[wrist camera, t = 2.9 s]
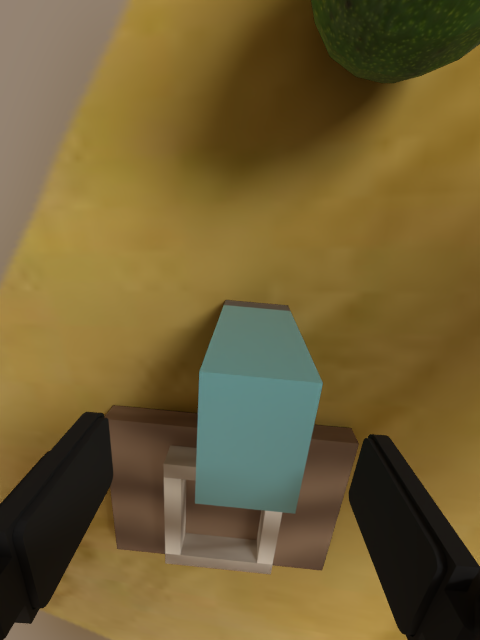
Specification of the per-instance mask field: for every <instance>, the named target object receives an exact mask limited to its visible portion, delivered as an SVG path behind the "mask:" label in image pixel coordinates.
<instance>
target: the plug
mask: <svg viewBox="0 0 480 640" xmlns="http://www.w3.org/2000/svg"><path fill="white" fill-rule="evenodd" d="M322 385H323V382H322V380H321V378H320V376H319V373H318V371H317V369H316V367H315V365H314V362H313V360H312V358H311V356H310V353H309V351H308V349H307V347H306V345H305V342H304V340H303V338H302V336H301V333H300V331H299V329H298V327H297V325H296V322H295V320H294V318H293V316H292V313H291V311H290V309H289V307H288V305H277V304H266V303H254V302H243V301H232V300H226V301H225V303H224V306H223V309H222V311H221V314H220V317H219V320H218V322H217V325H216V328H215V330H214V333H213V336H212V339H211V341H210V344H209V347H208V350H207V352H206V355H205V358H204V360H203V363H202V366H201V369H200V371H199V397H198V426H197V456H196V486H195V504H205V505H215V506H225V507H235V508H244V509H254V510H264V511H274V512H284V513H294V514H295V512H296V507H297V503H298V498H299V493H300V489H301V484H302V479H303V474H304V470H305V465H306V460H307V456H308V451H309V446H310V442H311V437H312V432H313V427H314V423H315V418H316V413H317V409H318V404H319V399H320V395H321V390H322Z"/></svg>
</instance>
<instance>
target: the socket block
mask: <svg viewBox="0 0 480 640" xmlns="http://www.w3.org/2000/svg"><path fill="white" fill-rule="evenodd" d="M104 417H105V418H108V421H109V431H110V441H111V452H112V463H113V480H112V483H111V485H110V489H111V498H112V507H113V516H114V525H115V534H116V543H117V549H123V550H132V551H142V552H152V553H161V554H165V563H168V564H177V565H187V566H196V567H206V568H215V569H225V570H234V571H244V572H253V573H263V574H271V570H272V565H275V566H285V567H295V568H304V569H314V570H322V569H323V566H324V562H325V559H326V555H327V552H328V548H329V545H330V542H331V538H332V535H333V531H334V528H335V524H336V521H337V517H338V514H339V511H340V507H341V504H342V500H343V497H344V493H345V490H346V486H347V483H348V480H349V476H350V473H351V469H352V466H353V462H354V459H355V456H356V452H357V449H358V445H359V443H358V441H357V439H356V437H355V435H354V433H353V431H352V429H351V428H343V427H333V426H322V425H314V427H313V432H312V437H311V442H310V446H309V451H308V456H307V460H306V465H305V470H304V474H303V479H302V484H301V489H300V493H299V498H298V503H297V507H296V512H295V514H294V513H284V512H274V511H264V510H254V509H244V508H235V507H225V506H215V505H205V504H195V486H196V456H197V426H198V413H188V412H177V411H167V410H156V409H146V408H136V407H125V406H115V405H113V406H112V407H111V409H110V410H109V411H108V413H107V414H106V415H105V416H104Z"/></svg>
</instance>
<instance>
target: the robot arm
mask: <svg viewBox="0 0 480 640" xmlns="http://www.w3.org/2000/svg"><path fill="white" fill-rule="evenodd" d="M112 480H113V463H112V452H111V441H110V431H109V421H108V418H105V417H104V414H103V413H95V412H85V413H84V414H82V416H81V417H80V418H79V419H78V420H77V421H76V422H75V424H74V425H73V426H72V427H71V428H70V429H69V430H68V431H67V433H66V434H65V435H64V436H63V437H62V438H61V439H60V440H59V442H58V443H57V444H56V445H55V446H54V447H53V448H52V450H51V451H49V452H47V453H46V454H45V455H44V456H43V457H42V458H41V459H40V460H39V461H38V462H37V464H36V465H35V466H34V467H33V468H32V469H31V470H30V471H29V473H28V474H27V475H26V476H25V477H24V478H23V479H22V480H21V481H20V483H19V484H18V485H17V486H16V487H15V488H14V489H13V490H12V492H11V493H10V494H9V495H8V496H7V497H6V498H5V499H4V500H3V502H2V503H1V504H0V640H3V639H4V638H6V636H7V634H8V633H9V631H10V629H11V627H12V626H13V624H14V622H16V623H29V624H31V623H32V621H33V620H34V618H35V616H36V614H37V612H38V610H39V609H40V608H44V607H45V606H46V605H47V604H48V602H49V601H50V599H51V597H52V595H53V593H54V592H55V590H56V588H57V586H58V584H59V582H60V580H61V578H62V576H63V574H64V573H65V571H66V569H67V567H68V565H69V563H70V561H71V559H72V557H73V556H74V554H75V552H76V550H77V548H78V546H79V544H80V542H81V540H82V538H83V537H84V535H85V533H86V531H87V529H88V527H89V525H90V523H91V521H92V520H93V518H94V516H95V514H96V512H97V510H98V508H99V506H100V504H101V502H102V501H103V499H104V497H105V495H106V493H107V491H108V489H109V487H110V485H111V483H112ZM349 501H350V505H351V507H352V510H353V512H354V515H355V518H356V520H357V523H358V525H359V528H360V531H361V533H362V536H363V538H364V541H365V544H366V546H367V549H368V551H369V554H370V557H371V559H372V562H373V564H374V567H375V569H376V572H377V575H378V577H379V580H380V582H381V585H382V588H383V590H384V593H385V595H386V598H387V601H388V603H389V606H390V608H391V611H392V614H393V616H394V619H395V621H396V624H397V626H398V628H399V630H400V632H401V633H402V634H406V637H407V639H408V640H480V566H479V565H478V563H477V562H476V560H475V559H474V558H473V556H472V555H471V553H470V552H469V550H468V549H467V548H466V546H465V545H464V543H463V542H462V540H461V539H460V538H459V536H458V535H457V533H456V532H455V530H454V529H453V528H452V526H451V525H450V523H449V522H448V520H447V519H446V518H445V516H444V515H443V513H442V512H441V510H440V509H439V508H438V506H437V505H436V503H435V502H434V500H433V499H432V498H431V496H430V495H429V493H428V492H427V490H426V489H425V488H424V486H423V485H422V483H421V482H420V480H419V479H418V477H417V476H416V475H415V473H414V472H413V470H412V469H411V467H410V466H409V465H408V463H407V462H406V460H405V459H404V457H403V456H402V455H401V453H400V452H399V450H398V449H397V447H396V446H395V445H394V443H393V442H392V440H391V439H390V438H389V437H388V436H386V435H374V434H370V435H369V436H368V438H365V439H364V441H363V444H362V448H361V451H360V455H359V458H358V462H357V465H356V469H355V472H354V476H353V479H352V483H351V486H350V490H349Z"/></svg>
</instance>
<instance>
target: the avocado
mask: <svg viewBox="0 0 480 640" xmlns="http://www.w3.org/2000/svg"><path fill="white" fill-rule="evenodd" d="M311 3H312V9H313V15H314V21H315V24H316V27H317V29H318V31H319V33H320V35H321V38H322V40H323V42H324V44H325V47H326V49H327V51H328V53H329V56H330V57H331V58H332V59H333V60H335V61H336V62H337V63H339V64H340V65H341V66H343V67H344V68H345V69H346V70H348V71H349V72H350V73H352V74H353V75H354V76H356V77H359V78H363V79H367V80H371V81H375V82H379V83H396V82H399V81H403V80H407V79H411V78H414V77H418V76H422V75H424V74H426V73H429V72H431V71H433V70H436V69H438V68H440V67H443V66H445V65H447V64H450V63H452V62H454V61H457V60H459V59H460V58H462V57H463V56H464V55H466V54H467V53H468V52H470V51H471V50H472V49H474V48H475V47H476V46H478V45H479V44H480V0H311Z"/></svg>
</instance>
